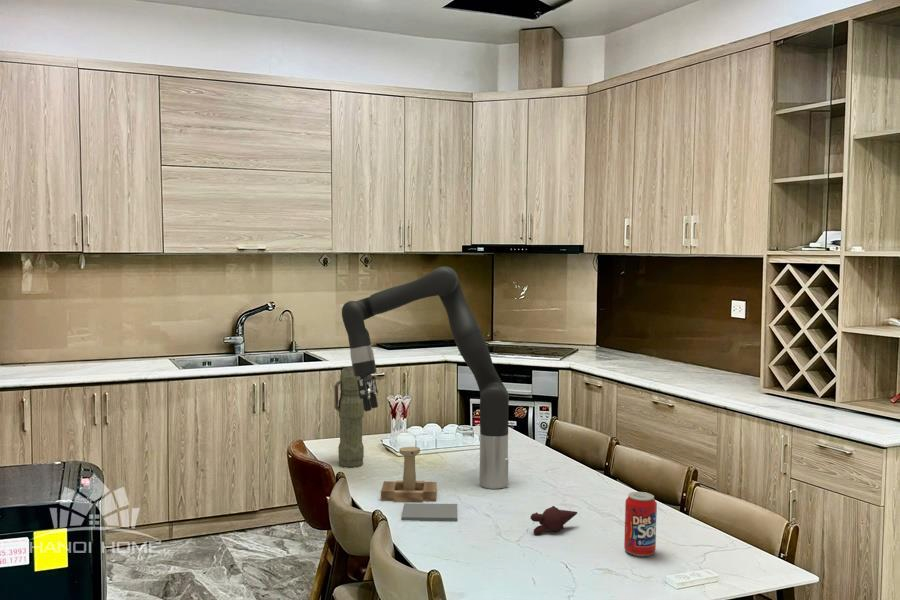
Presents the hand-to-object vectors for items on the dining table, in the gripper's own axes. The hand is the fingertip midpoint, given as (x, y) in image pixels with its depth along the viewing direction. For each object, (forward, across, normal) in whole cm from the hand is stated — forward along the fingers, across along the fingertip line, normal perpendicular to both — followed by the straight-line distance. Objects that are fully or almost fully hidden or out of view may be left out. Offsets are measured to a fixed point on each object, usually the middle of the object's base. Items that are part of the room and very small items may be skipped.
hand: (371, 409), depth 253 cm
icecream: (+39, -30, -54) cm, 73 cm away
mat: (+31, -23, -18) cm, 43 cm away
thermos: (+20, +22, +17) cm, 34 cm away
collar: (+28, -9, -10) cm, 31 cm away
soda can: (+45, -42, -75) cm, 97 cm away
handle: (+28, -9, -10) cm, 31 cm away
